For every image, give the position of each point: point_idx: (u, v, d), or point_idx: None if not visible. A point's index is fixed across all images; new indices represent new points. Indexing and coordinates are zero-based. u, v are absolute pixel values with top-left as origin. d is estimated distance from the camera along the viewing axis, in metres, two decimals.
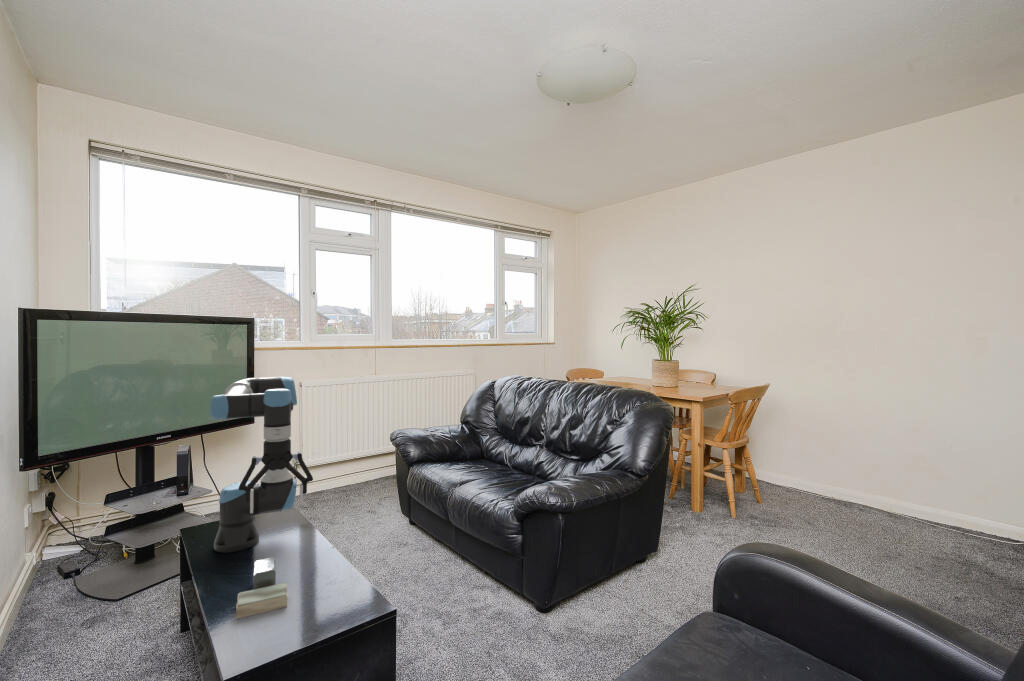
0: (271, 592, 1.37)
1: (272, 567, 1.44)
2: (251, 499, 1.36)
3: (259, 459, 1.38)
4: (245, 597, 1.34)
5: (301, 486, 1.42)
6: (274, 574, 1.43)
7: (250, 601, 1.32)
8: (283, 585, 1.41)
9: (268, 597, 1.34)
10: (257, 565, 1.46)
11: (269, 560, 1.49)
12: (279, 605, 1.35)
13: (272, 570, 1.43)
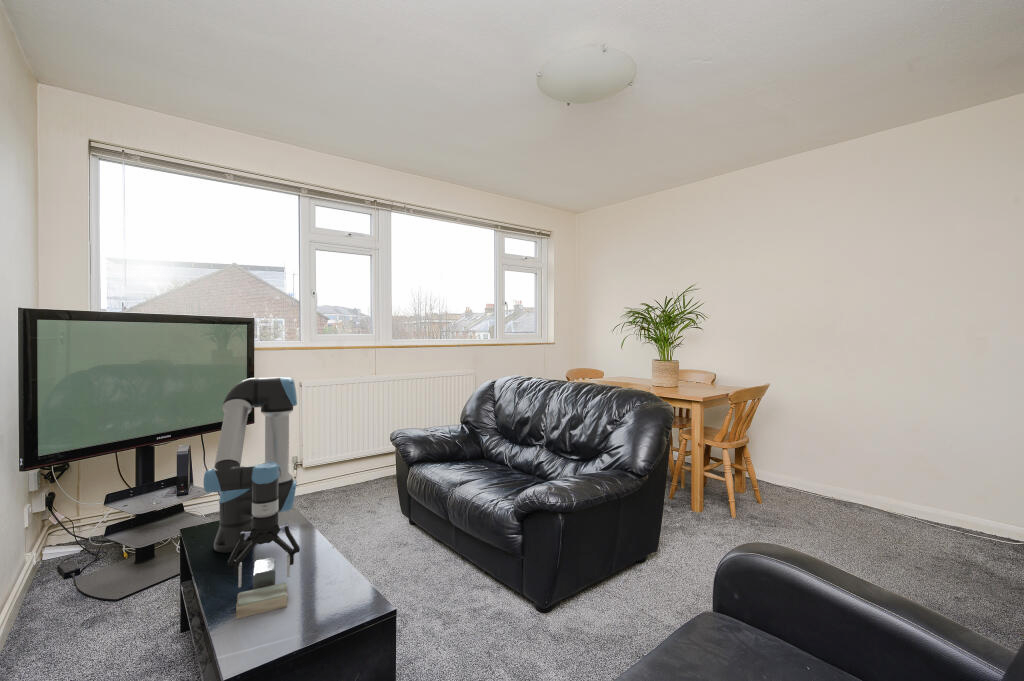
0: (271, 592, 1.37)
1: (272, 567, 1.44)
2: (239, 573, 1.41)
3: (247, 534, 1.43)
4: (245, 597, 1.34)
5: (288, 558, 1.48)
6: (274, 574, 1.43)
7: (250, 601, 1.32)
8: (283, 585, 1.41)
9: (268, 597, 1.34)
10: (257, 565, 1.46)
11: (269, 560, 1.49)
12: (279, 605, 1.35)
13: (272, 570, 1.43)
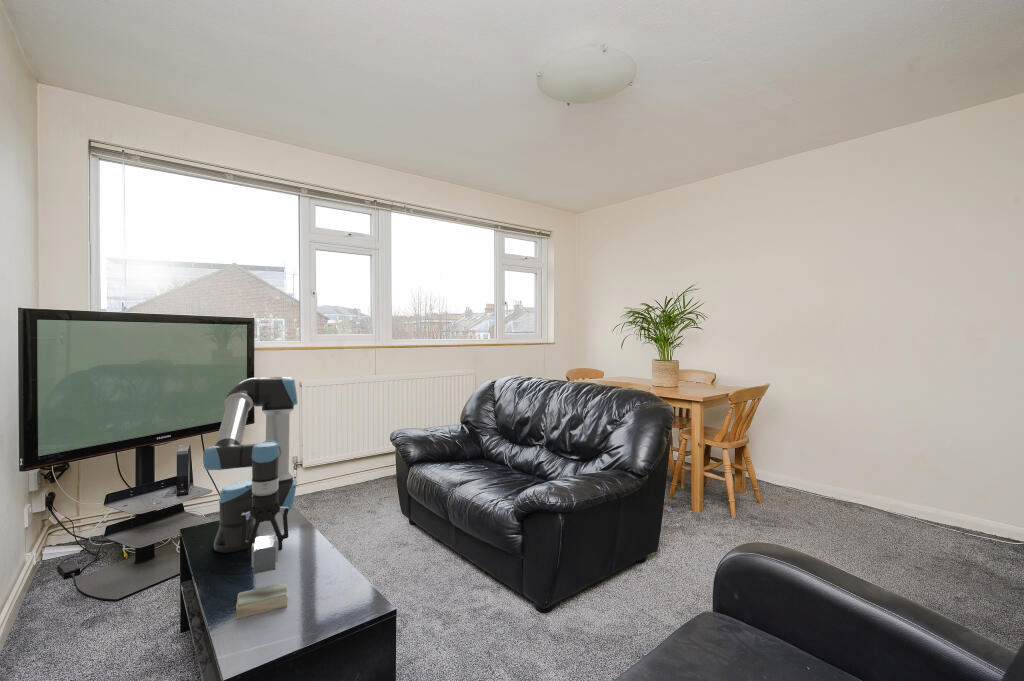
0: (271, 592, 1.37)
1: (272, 544, 1.45)
2: (252, 554, 1.44)
3: (248, 514, 1.44)
4: (245, 597, 1.34)
5: (276, 544, 1.47)
6: (274, 551, 1.43)
7: (250, 601, 1.32)
8: (283, 585, 1.41)
9: (268, 597, 1.34)
10: (257, 542, 1.46)
11: (269, 537, 1.49)
12: (279, 605, 1.35)
13: (272, 547, 1.43)
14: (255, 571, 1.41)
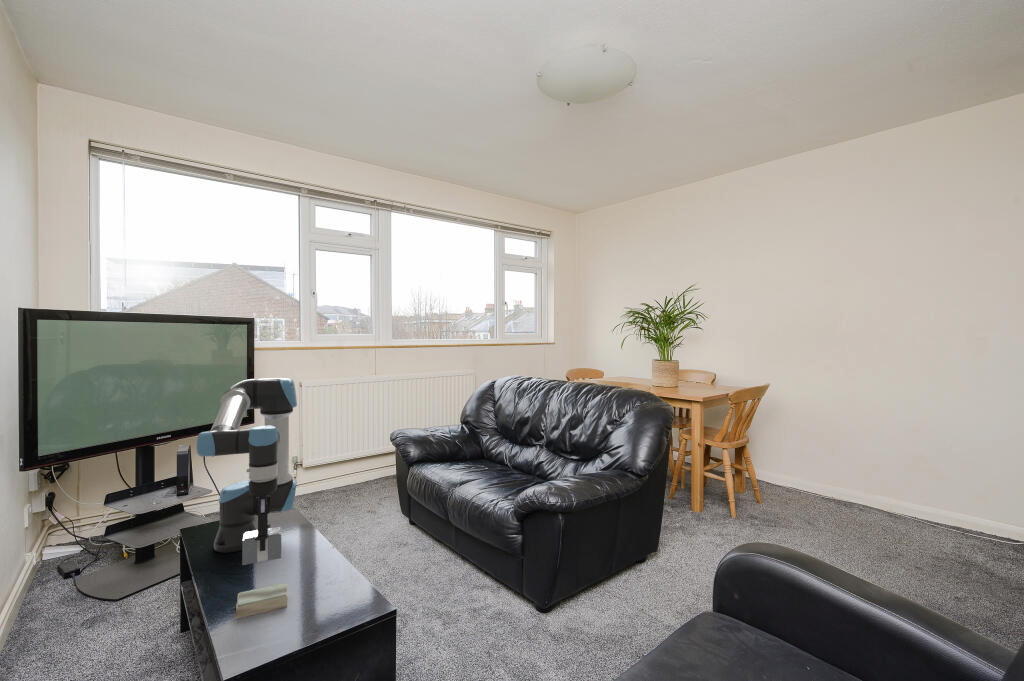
0: (271, 592, 1.37)
1: (250, 537, 1.33)
2: None
3: None
4: (245, 597, 1.34)
5: (257, 540, 1.32)
6: None
7: (250, 601, 1.32)
8: (283, 585, 1.41)
9: (268, 597, 1.34)
10: None
11: (272, 532, 1.36)
12: (279, 605, 1.35)
13: (244, 539, 1.32)
14: None
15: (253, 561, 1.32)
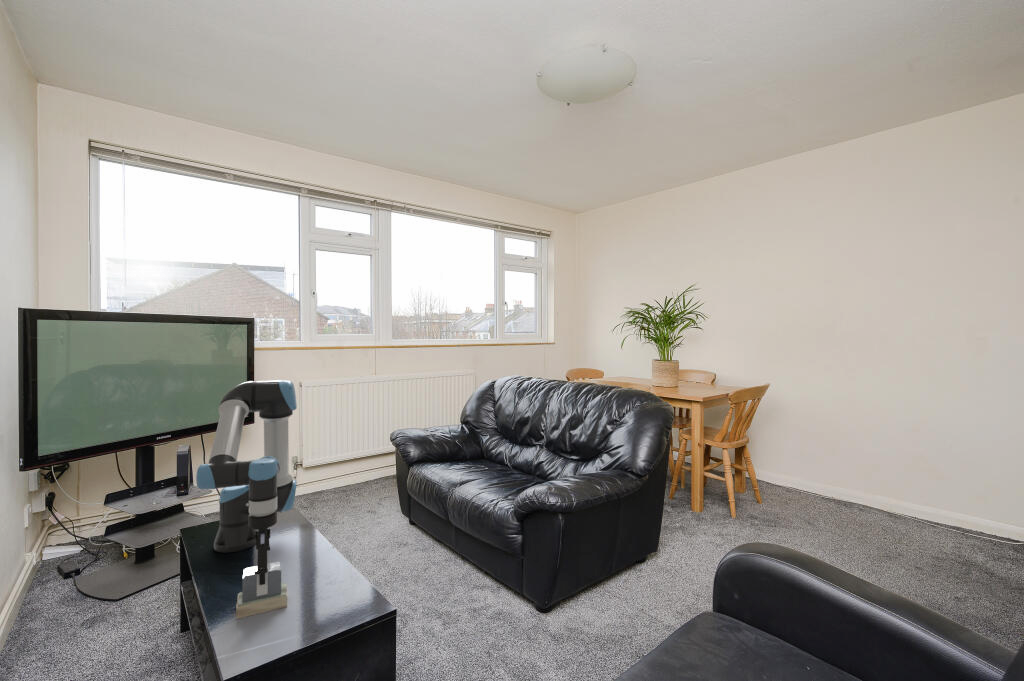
0: None
1: (250, 574, 1.33)
2: None
3: None
4: None
5: None
6: None
7: (250, 601, 1.32)
8: (283, 585, 1.41)
9: (268, 597, 1.34)
10: None
11: (272, 568, 1.36)
12: (279, 605, 1.35)
13: (244, 577, 1.32)
14: None
15: (253, 598, 1.32)
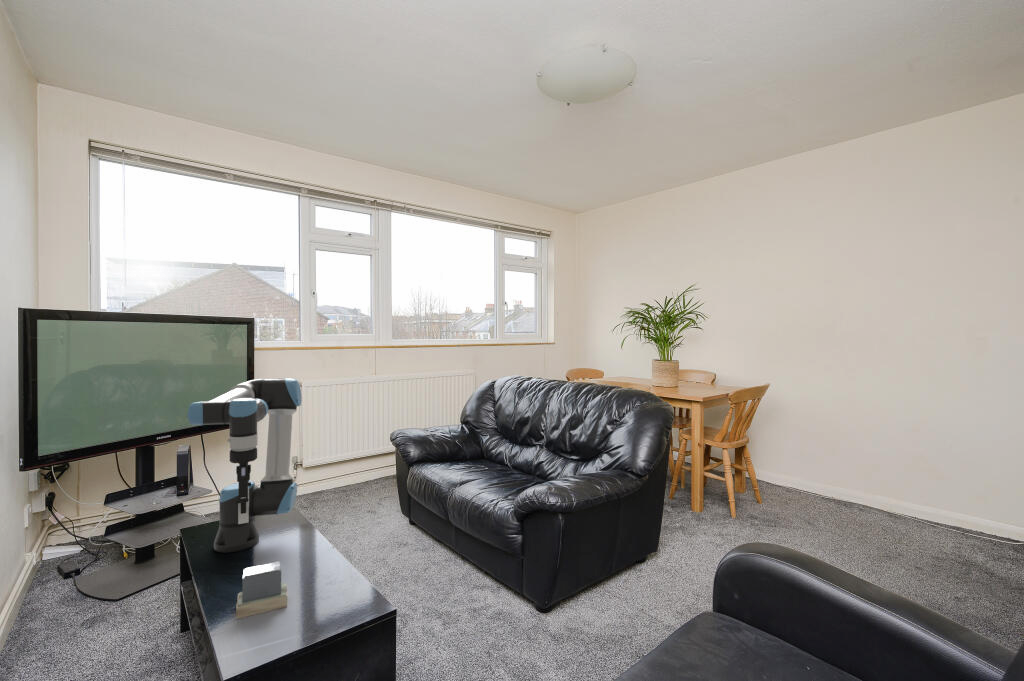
0: None
1: (250, 574, 1.33)
2: None
3: None
4: None
5: (238, 504, 1.37)
6: None
7: (250, 601, 1.32)
8: (283, 585, 1.41)
9: (268, 597, 1.34)
10: (264, 565, 1.38)
11: (272, 568, 1.36)
12: (279, 605, 1.35)
13: (244, 577, 1.32)
14: None
15: (253, 598, 1.32)
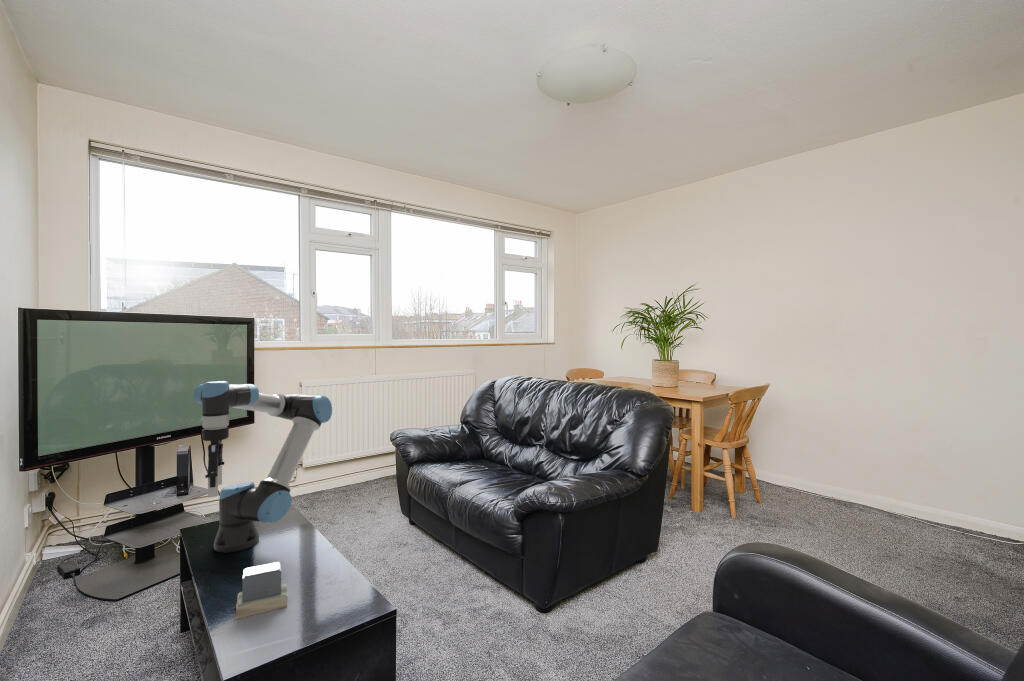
0: None
1: (250, 574, 1.33)
2: None
3: None
4: None
5: None
6: None
7: (250, 601, 1.32)
8: (283, 585, 1.41)
9: (268, 597, 1.34)
10: (264, 565, 1.38)
11: (272, 568, 1.36)
12: (279, 605, 1.35)
13: (244, 577, 1.32)
14: None
15: (253, 598, 1.32)
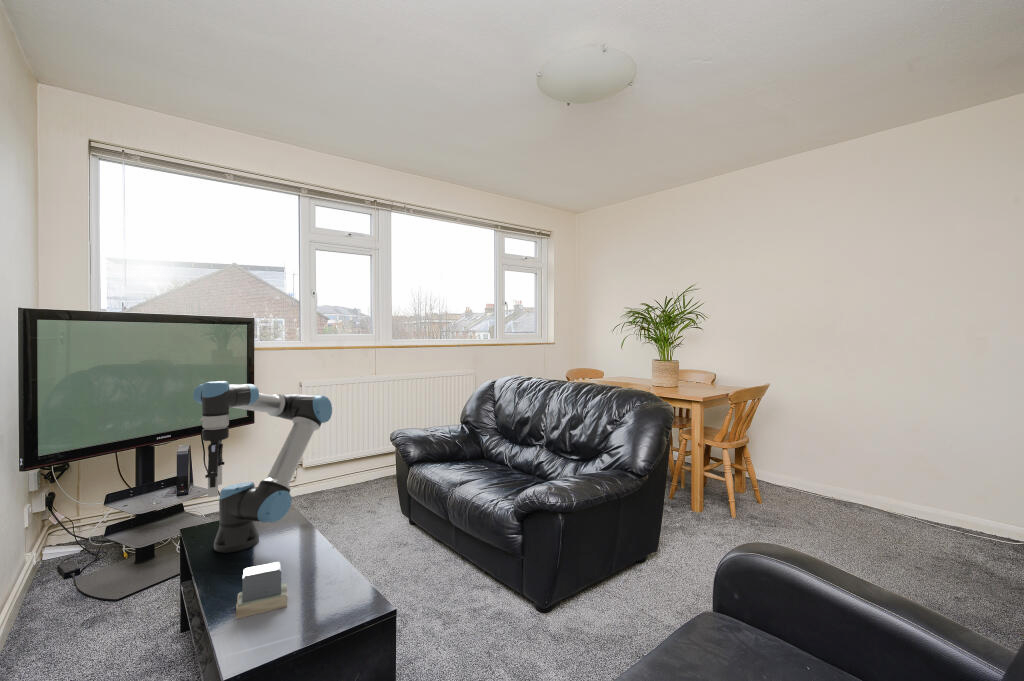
0: None
1: (250, 574, 1.33)
2: None
3: None
4: None
5: None
6: None
7: (250, 601, 1.32)
8: (283, 585, 1.41)
9: (268, 597, 1.34)
10: (264, 565, 1.38)
11: (272, 568, 1.36)
12: (279, 605, 1.35)
13: (244, 577, 1.32)
14: None
15: (253, 598, 1.32)
